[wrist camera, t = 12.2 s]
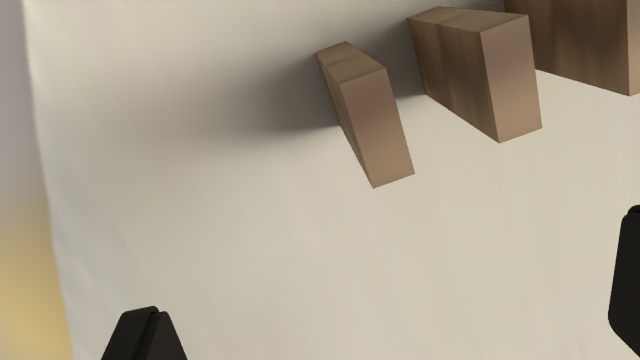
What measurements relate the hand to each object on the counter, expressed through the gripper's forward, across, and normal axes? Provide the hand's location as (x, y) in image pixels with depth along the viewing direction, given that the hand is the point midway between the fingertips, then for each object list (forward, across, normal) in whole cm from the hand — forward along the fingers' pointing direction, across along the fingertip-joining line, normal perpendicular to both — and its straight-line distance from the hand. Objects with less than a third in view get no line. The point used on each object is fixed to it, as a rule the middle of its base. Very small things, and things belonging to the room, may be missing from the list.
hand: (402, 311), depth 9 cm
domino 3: (+20, -14, -2) cm, 25 cm away
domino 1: (+20, -2, 0) cm, 21 cm away
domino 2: (+20, -8, -1) cm, 22 cm away
